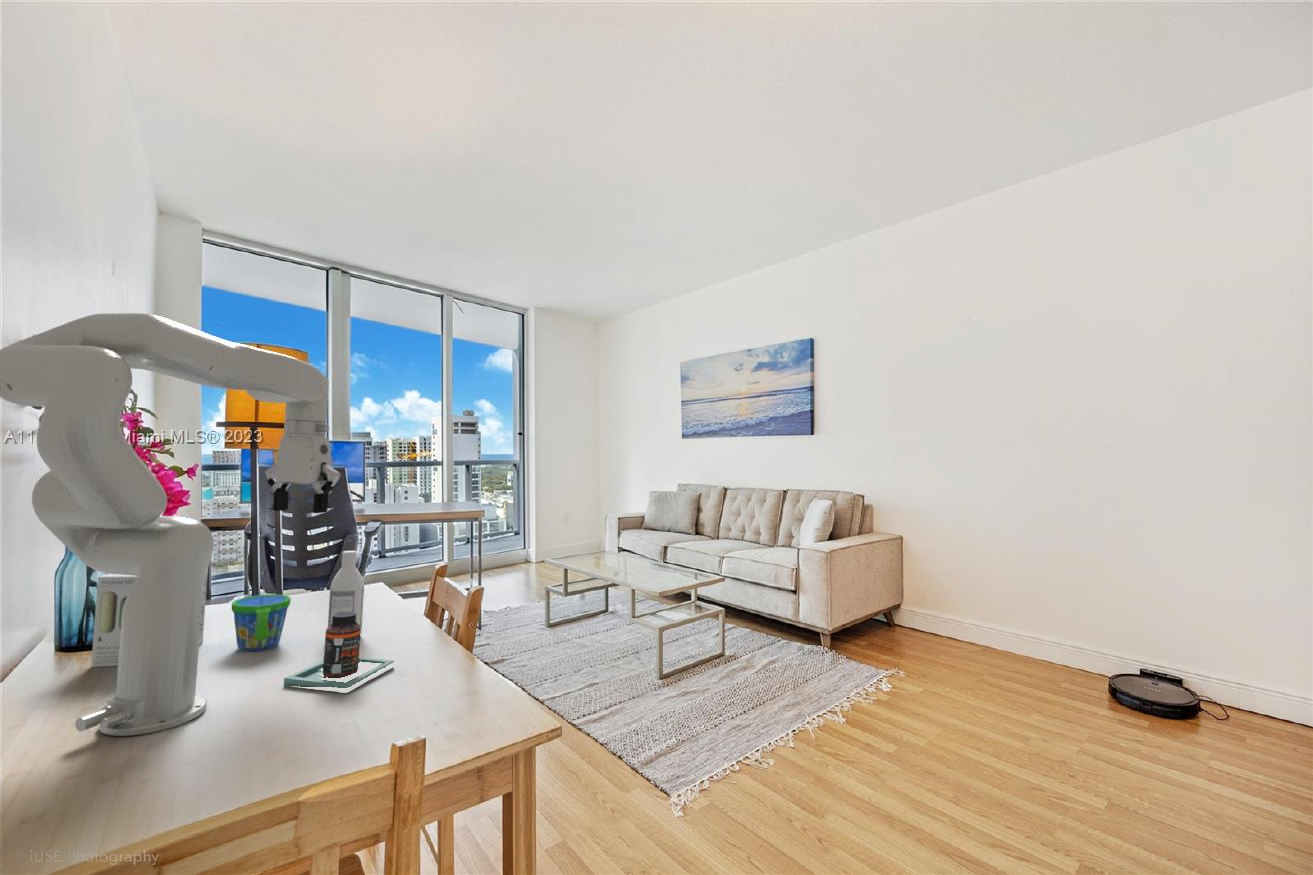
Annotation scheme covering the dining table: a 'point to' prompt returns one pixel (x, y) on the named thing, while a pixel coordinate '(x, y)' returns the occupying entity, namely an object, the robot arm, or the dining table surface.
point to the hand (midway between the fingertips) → (300, 511)
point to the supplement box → (117, 617)
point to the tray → (310, 677)
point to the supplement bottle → (342, 646)
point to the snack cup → (259, 621)
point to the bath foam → (347, 589)
